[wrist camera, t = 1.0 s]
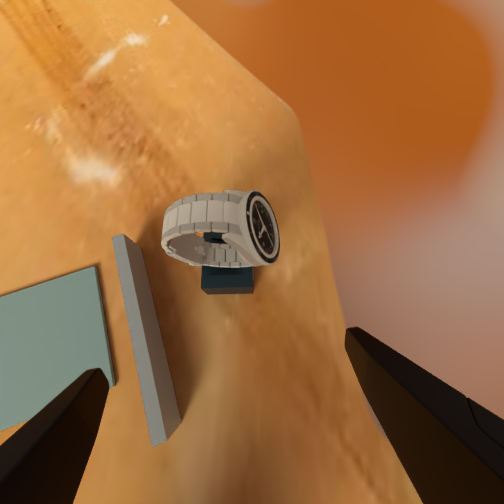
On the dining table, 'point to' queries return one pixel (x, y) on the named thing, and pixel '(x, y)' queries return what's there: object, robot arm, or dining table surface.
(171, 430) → the acrylic wall
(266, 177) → the dining table surface
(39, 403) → the mat
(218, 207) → the watch
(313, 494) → the dining table surface
